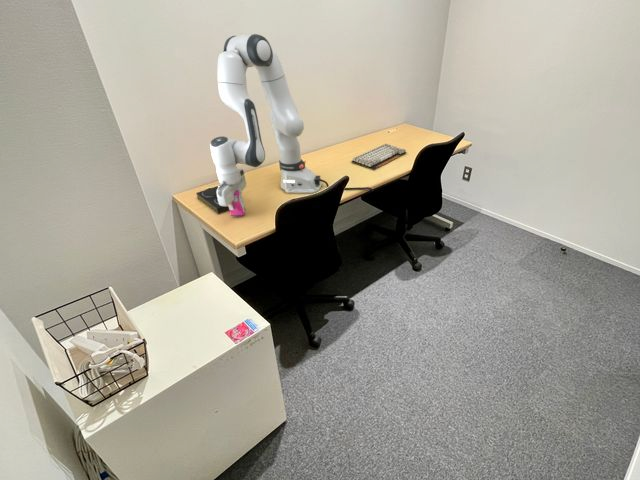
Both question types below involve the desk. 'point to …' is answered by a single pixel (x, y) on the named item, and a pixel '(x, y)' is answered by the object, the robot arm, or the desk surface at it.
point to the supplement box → (238, 204)
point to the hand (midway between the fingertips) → (236, 205)
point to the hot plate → (211, 199)
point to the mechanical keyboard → (378, 156)
